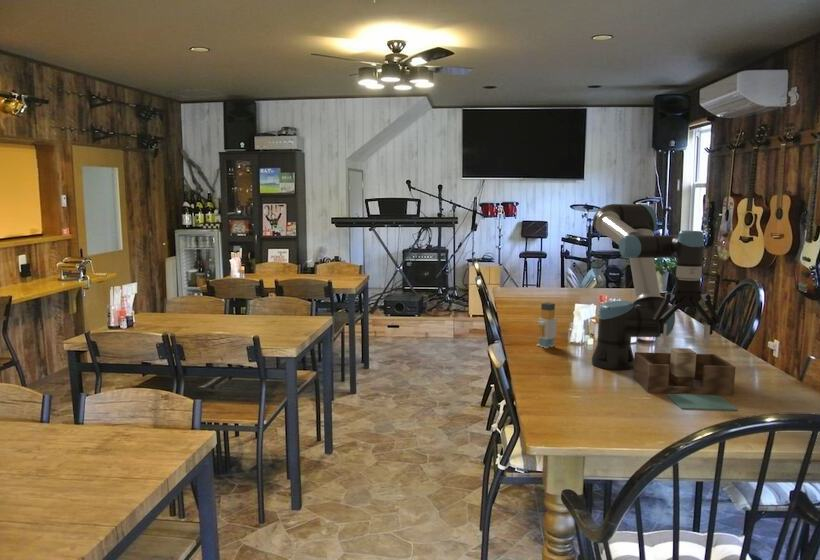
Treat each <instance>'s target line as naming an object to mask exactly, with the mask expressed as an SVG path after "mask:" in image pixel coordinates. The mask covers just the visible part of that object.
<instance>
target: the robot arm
mask: <svg viewBox="0 0 820 560" xmlns="http://www.w3.org/2000/svg"><path fill="white" fill-rule="evenodd" d="M657 216H658V215H657V212H656V210H655V209H654V208H653V207H652V206H651V205H649V204H643V203H637V204H633V203H632V204H630V203H629V204H628V203H627V204H626V203H624V204H623V203H618V204H617V203H611V204H606V205H604V206H602V207H600V208H599V209H597V211H596V212H595V214H594V216H593V218H592V225H593V227H594V229H595V231H596V232H597V233H598V234H600V235H602V236H604V237H605V236H606V237H608V238H610V240H611V241H613V242H614V243H616V244H617V245H618V251H619V254H620V255H621V257H623V258H627V259H628V258H629V264H630V269H631V276H632V282H633V289H634V294H635V299H634V301H630V300H613V301H608V302H604V303H601V305H600V307H599V311H598V314H597V315H598V316H597V318H598V328H597V343H596V346H595V349H594V351H593V354H592V356H591V364H592V365H593V366H595V367H597V368H601V369H605V370H606V369H607V370H614V371H616V370H617V371H625V370H632V369H634V356H635V355H634V352H633V349H632V345H631V343H632V342H631V341H632V338H655V339H657V338H660V343H661V344H662V345H666V344H667V337H668V336H669V335H670V334H671V333H672V332H673V330H674V326H675V323H676V312H677V310H679V309H680V308H682V309H685V308H688V309H693V308H694V309H696V311H697V312H698V313H699V314H700V316H701V317H702V318H703V320H705V321H704V322H706V323H704V326H703V327H704V328H703V338H702V339H703V342H702V343H703V344H704V345H705V346H709V345H710V335H712V334H713V331H714V326H715V324H719V323H720V318H719V316H718V314H717V312H716V309H715V307H714V305H713V303H712V298H711V297H712V296H711V295H710V294H709V293H704V294H701V292H702V291H701V290H702V281H701V280H700V279H702V271H703V258H704V257H703V256H704V245H705V241H704V240H705V239H704V238H705V235H704V233H703V231H700V230H680V231H679V232H678V234H669V235H668V234H667V235H664V234H663V235H662V234H661V235H659V234H658V235H655V234H654V233H656V232H657V231H656V230H657V228H658V217H657ZM655 259H676V268H675V269H676V271H675V277H676V279H675V286H674V288H675V289H674V293H673V294H671V293H668V292H665V293H664V296H662V295H661V291H660V286H659V281H658V275H657V270H656V269H657V268H656V263H655ZM672 300H674V303H672V304H671V305H670V302H671V301H672ZM701 300H702V301H703V303H704V304H705V306H706V309H707V311H708V313H709V315H710V316H709V315H708V314H707V312H706V311H705V310H704V308H703V306H702V305H701V304H700V303H699V302H701Z"/></svg>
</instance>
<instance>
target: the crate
mask: <svg viewBox="0 0 820 560" xmlns="http://www.w3.org/2000/svg"><path fill="white" fill-rule="evenodd" d="M633 356H634V368H633V374H632V375H633V376H632V377H633V379H634V381H635V382H637V383H638V384H639V386H640V387H642V389H644V391H646V392H647V393H648V394H649V393H654V394H680V393H686V394H685V395H717V396H721V395H722V396H726V395H727V396H734V393H735V391H734V390H735V379H736V368H737V367H736V366H735V365H733V364H731V363H729V362H728V361H726V360H725V359H723V358H721V357H720V356H718V355H716V354H715V353H714V354H713V353H696V367H695V377H676V376H674V375H673V374H672V373H671V372H670V357H671V352H638V351H637V352H636V351H635V352H634V355H633ZM694 380H700V381H701V382H702V386H695V381H694ZM669 383H670V384H671V385H669Z"/></svg>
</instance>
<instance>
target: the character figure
mask: <svg viewBox="0 0 820 560" xmlns="http://www.w3.org/2000/svg"><path fill="white" fill-rule="evenodd" d="M555 305H556V304H555V303H551V302H542V303H541V305H540V307H541V308H540V309H541V310H540V314H541V315H540V317H538V321H537V326H538V327H537V330H538V331H537V338H538V339H539V343H536V347H538V346H540V347H539V348H542V347H544V348H543V349H549V348H553V346H554V347H555V342H554V341H555V338H557V320H558V319H557V317H555V311H556V310H555V308H556V306H555ZM549 346H550V347H549Z"/></svg>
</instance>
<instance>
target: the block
mask: <svg viewBox="0 0 820 560" xmlns="http://www.w3.org/2000/svg"><path fill="white" fill-rule="evenodd" d="M670 353H671V357H670V372H671V373H672V374H673V375H674V376H676V377H695V367H696V354H697V352H696V351H694V350H693V349H691V348H685V347H684V348H682V347H681V348H680V347H671V348H670Z"/></svg>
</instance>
